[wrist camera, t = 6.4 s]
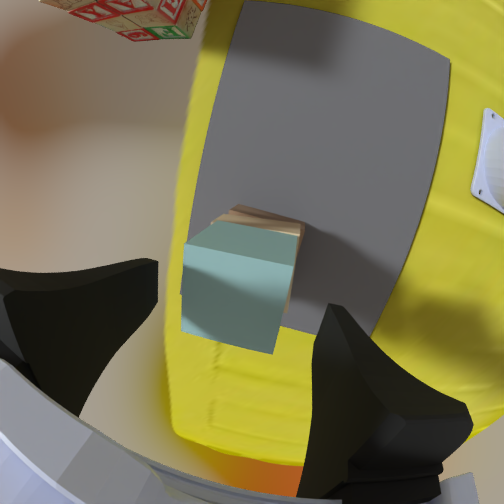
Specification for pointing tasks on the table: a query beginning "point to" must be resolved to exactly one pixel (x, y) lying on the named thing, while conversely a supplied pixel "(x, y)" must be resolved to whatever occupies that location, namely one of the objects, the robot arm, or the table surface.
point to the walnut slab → (266, 217)
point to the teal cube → (237, 284)
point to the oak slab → (268, 225)
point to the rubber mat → (326, 149)
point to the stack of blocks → (138, 16)
